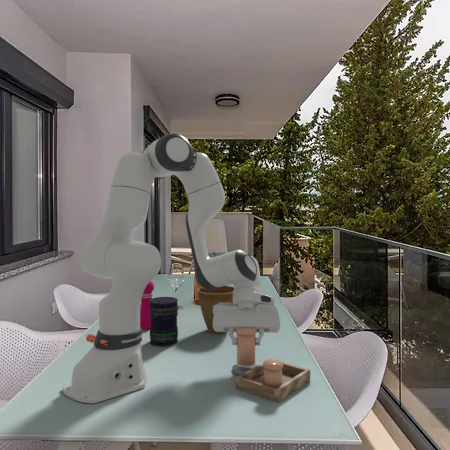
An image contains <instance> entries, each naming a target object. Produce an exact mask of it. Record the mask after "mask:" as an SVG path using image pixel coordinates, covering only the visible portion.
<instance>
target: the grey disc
mask: <svg viewBox="0 0 450 450" xmlns="http://www.w3.org/2000/svg"><path fill="white" fill-rule="evenodd" d="M257 366H258V364H256V363H255V364H254V365H250V366H243V365H239V364H238V363H236V364H234V365H232V367H231V368H232V369H231V371H232V373H233V374H235V375H236V376H237V375H238V376H239V375H241V374H243V373H245V372H247V371H249V370H251V369H253V368H255V367H257Z"/></svg>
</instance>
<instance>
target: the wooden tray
mask: <svg viewBox="0 0 450 450" xmlns="http://www.w3.org/2000/svg"><path fill="white" fill-rule="evenodd" d="M269 360H271V358H270V359H269ZM310 381H311V369H308V368H305V367H301V366H298V365H294V364H290V363H286V362H283V369H282V385H281V386H279V387H278V388H274V387H271V386H268V385H265V384H264V368H263V362H262V363H260V364H259V365H257V367H255V368H253V369H251V370H249V371H247V372H245V373H243V374H241V375H238V376H237V375H236V377H235V389H236V390H239V391H242V392H246V393H249V394H252V395H254V396H257V397H261V398H263V399H267V400H269V401H272V402H276V403H279V402H280V401H282V400H284V399H286V397H288V396H290V395H291V394H292V393H294V392H296V391H297V390H298V389H300V388H301V387H303V386H304V385H307V383H308V382H310Z"/></svg>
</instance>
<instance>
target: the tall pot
mask: <svg viewBox="0 0 450 450" xmlns="http://www.w3.org/2000/svg"><path fill="white" fill-rule="evenodd" d="M257 333H258V332H257V329H256V328H255V327H237V328H236V332H235V334H236V337H237V345H236V364H239V365H243V366H250V365H254V364H255V365H256V345H255V338H256V335H257Z"/></svg>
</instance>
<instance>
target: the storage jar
mask: <svg viewBox="0 0 450 450" xmlns="http://www.w3.org/2000/svg"><path fill="white" fill-rule="evenodd" d="M178 301H179V300H178V298H177V297H173V296H158V297H152V299H150V317H151V327H150V329H149V339H150V340H149V344H150V345H151V346H153V347H158V348H159V347H161V348H162V347H163V348H164V347H172V346H175V345H177V344H178V343H179V341H178V340H179V339H178V337H179V327H178V315H179V311H178V310H179V306H178V305H179V304H178V303H179V302H178Z"/></svg>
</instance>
